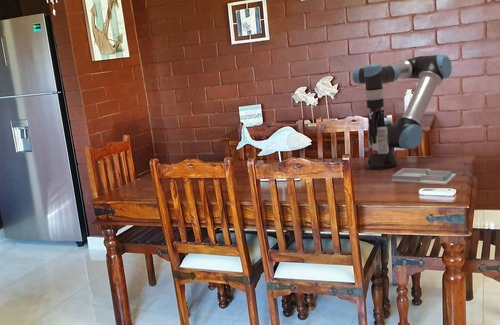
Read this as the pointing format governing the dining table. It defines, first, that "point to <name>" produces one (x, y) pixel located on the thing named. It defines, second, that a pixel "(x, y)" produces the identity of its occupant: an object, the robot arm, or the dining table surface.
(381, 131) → the ink box
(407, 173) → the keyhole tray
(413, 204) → the dining table surface
